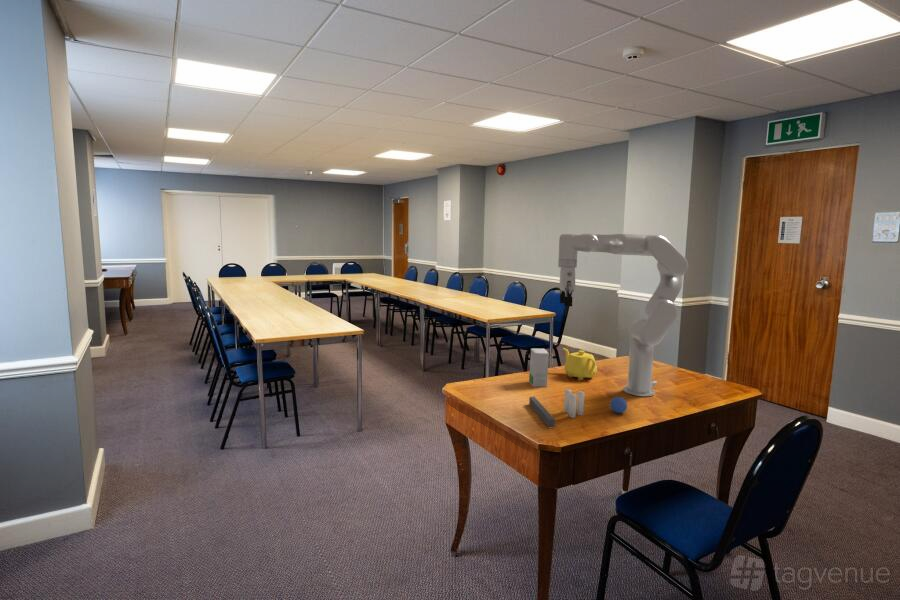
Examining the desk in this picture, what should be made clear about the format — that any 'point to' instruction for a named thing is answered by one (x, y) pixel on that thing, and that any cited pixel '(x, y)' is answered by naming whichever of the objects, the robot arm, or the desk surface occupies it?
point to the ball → (618, 405)
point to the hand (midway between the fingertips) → (565, 304)
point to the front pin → (580, 403)
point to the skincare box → (538, 367)
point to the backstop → (542, 412)
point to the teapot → (580, 364)
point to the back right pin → (567, 400)
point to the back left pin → (572, 405)
